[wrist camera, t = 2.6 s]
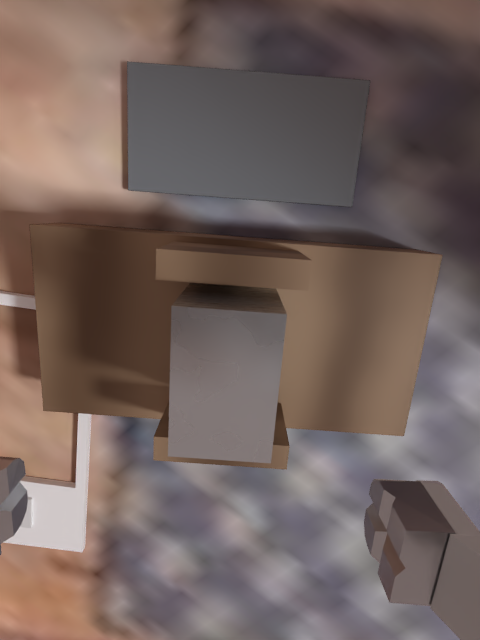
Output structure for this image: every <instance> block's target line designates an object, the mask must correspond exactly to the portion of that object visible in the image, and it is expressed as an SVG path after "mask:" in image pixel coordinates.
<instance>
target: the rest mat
mask: <svg viewBox="0 0 480 640" xmlns="http://www.w3.org/2000/svg"><path fill="white" fill-rule="evenodd" d="M127 87H128V190H130V191H142V192H156V193H169V194H183V195H196V196H209V197H223V198H236V199H249V200H263V201H276V202H290V203H303V204H316V205H330V206H343V207H352V204H353V197H354V190H355V183H356V176H357V170H358V163H359V156H360V149H361V142H362V135H363V128H364V121H365V114H366V107H367V101H368V94H369V87H370V80H359V79H346V78H333V77H320V76H307V75H294V74H281V73H269V72H256V71H243V70H230V69H217V68H204V67H191V66H178V65H165V64H152V63H139V62H127Z"/></svg>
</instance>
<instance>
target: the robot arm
mask: <svg viewBox="0 0 480 640" xmlns="http://www.w3.org/2000/svg"><path fill="white" fill-rule="evenodd" d="M25 474H26V473H25V466H24V461H22V460H21V459H20V458H12V457H0V544H1V543H3V542H4V541H6V540H8V539H9V538H11V537H13V536H14V535H15V533H16V532H17V530H18V529H19V527H20V526H21V524H22V521H23V519H24V516H25V513H26V510H27V503H28V495H27V490H26V489H25V488H24V486H23V485H22V484H21V483H20V481H21V479H22V478H23V477H24V476H25ZM369 495H370V497H371V499H372V501H373V503H372V504H371V505H370V506H369V507H368V508H367V509H366V513H365V519H364V529H365V538H366V543H367V546H368V549H369V552H370V554H371V556H373V557H374V558H375V559H376V560H377V561H378V562H379V563H380V565H379V570H378V575H379V577H380V580H381V582H382V585H383V587H384V590H385V592H386V595H387V597H388V600H389V602H390V603H401V604H413V605H425V606H431V609H432V610H433V611H434V612H435V613H436V614H437V616H438V617H439V618H440V619H441V620H442V621H443V622H444V623H445V624H446V625H447V626H448V627H449V628H450V629H451V630H452V631H453V632H454V633H455V634H456V635H457V636H458V637H459V638H460V640H480V532H479V530H478V529H477V528H476V526H475V525H474V524H473V523H472V521H471V520H470V519H469V517H468V516H467V515H466V513H465V512H464V511H463V510H462V508H461V507H460V506H459V504H458V503H457V502H456V501H455V499H454V498H453V497H452V495H451V494H450V493H449V491H448V490H447V489H446V488H445V486H444V485H443V484H442V483H440V482H438V481H401V480H383V479H374V480H373V482H372V483H371V486H370V491H369ZM0 555H1V545H0Z"/></svg>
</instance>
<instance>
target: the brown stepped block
mask: <svg viewBox="0 0 480 640" xmlns="http://www.w3.org/2000/svg"><path fill="white" fill-rule="evenodd" d="M29 225H30V238H31V252H32V265H33V278H34V292H35V305H36V318H37V332H38V345H39V358H40V371H41V385H42V398H43V411H53V412H67V413H82V414H96V415H110V416H124V417H139V418H153V419H161V420H160V423H159V425H158V428H157V430H156V433H155V435H154V460H159V461H173V462H187V463H202V464H216V465H231V466H245V467H260V468H274V469H287V461H288V453H289V442H288V436H287V431H286V428H295V429H309V430H324V431H338V432H352V433H366V434H381V435H395V436H404V433H405V429H406V424H407V419H408V414H409V410H410V405H411V400H412V396H413V391H414V386H415V382H416V377H417V372H418V368H419V363H420V358H421V354H422V349H423V344H424V339H425V335H426V330H427V325H428V321H429V316H430V311H431V307H432V302H433V297H434V293H435V288H436V283H437V278H438V274H439V269H440V264H441V260H442V255H440V254H435V253H431V252H426V251H421V250H416V249H403V248H390V247H376V246H363V245H349V244H336V243H322V242H309V241H295V240H282V239H268V238H255V237H241V236H228V235H214V234H201V233H187V232H174V231H160V230H146V229H133V228H119V227H106V226H92V225H79V224H65V223H49V224H29ZM190 282H193V283H206V284H220V285H234V286H247V287H261V288H275V289H277V292H278V294H279V296H280V299H281V301H282V303H283V306H284V308H285V311H286V313H287V320H286V329H285V338H284V347H283V356H282V366H281V375H280V384H279V393H278V402H277V412H276V421H275V430H274V439H273V449H272V458H271V463H257V462H242V461H228V460H214V459H199V458H185V457H170V456H168V431H169V389H170V347H171V306H172V305H173V303H174V302H175V301H176V300H177V298H178V297H179V296H180V295H181V293H182V292H183V291H184V290H185V288H186V287H187V286H188V285H189V283H190Z"/></svg>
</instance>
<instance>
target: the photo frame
mask: <svg viewBox="0 0 480 640" xmlns="http://www.w3.org/2000/svg"><path fill="white" fill-rule="evenodd" d="M0 305H7V306H14V307H21V308H28V309H35V310H36V305H35V296H33V295H26V294H19V293H13V292H6V291H0ZM90 433H91V414H82V413H78V434H77V460H76V483H75V482H67V481H59V480H52V479H44V478H37V477H29V476H24V477H23V478H22V479H21V481H20V483H21V484H22V485H23V486H24V488H25V489H26V490H27V495H28V503H27V510H26V513H25V516H24V519H23V521H22V524H21V526H20V527H19V529H18V530H17V532H16V533H15V535H14V536H13V537H11V538H9V539H8V540H6V541H4V542H5V543H12V544H20V545H28V546H36V547H44V548H52V549H60V550H68V551H76V552H83V550H84V548H85V536H86V516H87V495H88V474H89V454H90Z"/></svg>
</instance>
